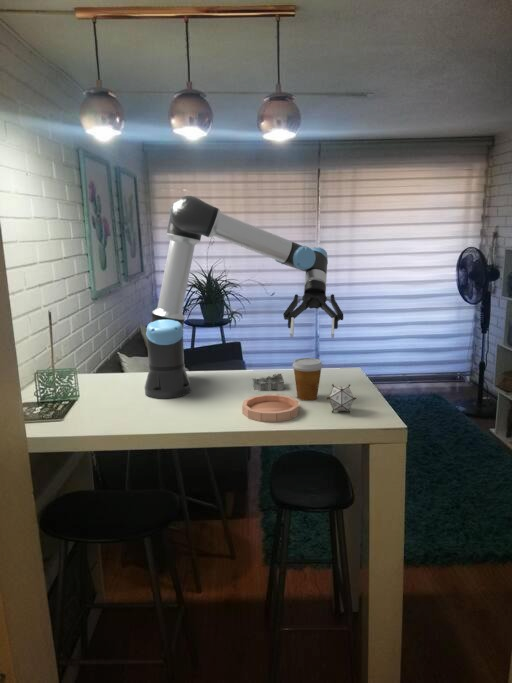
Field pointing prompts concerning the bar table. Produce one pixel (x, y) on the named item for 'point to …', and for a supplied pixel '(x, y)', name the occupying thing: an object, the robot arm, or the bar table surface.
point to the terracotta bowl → (270, 408)
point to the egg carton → (269, 383)
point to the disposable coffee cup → (307, 377)
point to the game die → (341, 398)
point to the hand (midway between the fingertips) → (311, 336)
